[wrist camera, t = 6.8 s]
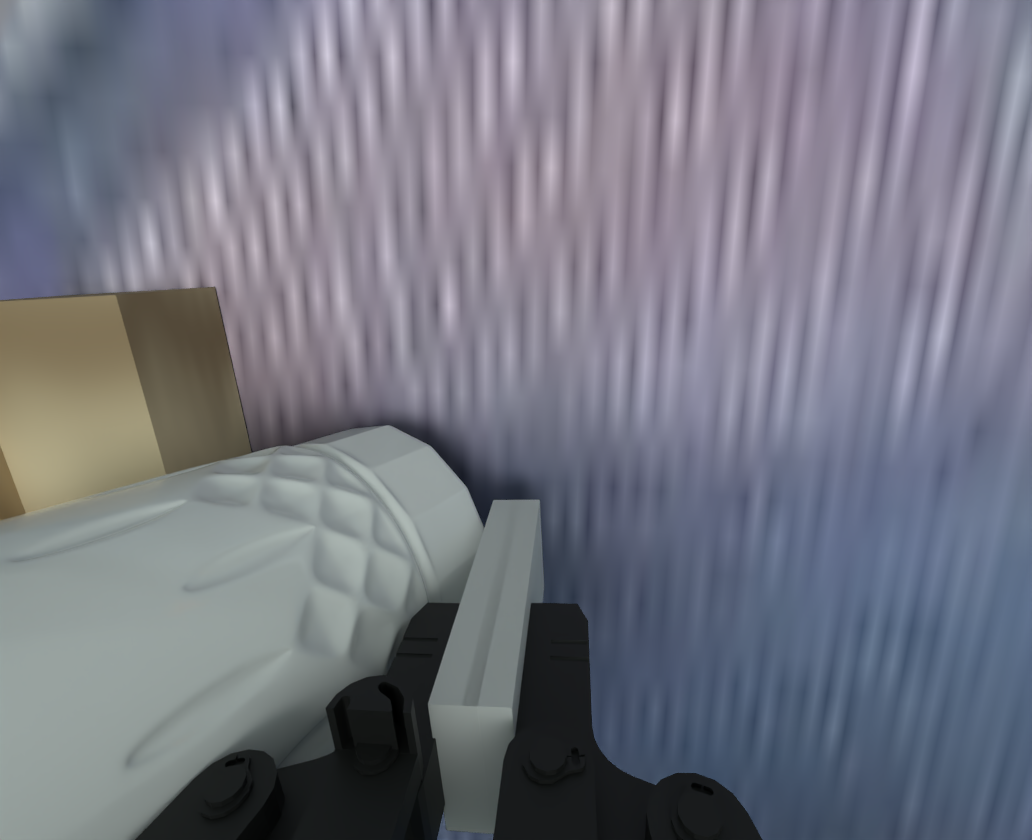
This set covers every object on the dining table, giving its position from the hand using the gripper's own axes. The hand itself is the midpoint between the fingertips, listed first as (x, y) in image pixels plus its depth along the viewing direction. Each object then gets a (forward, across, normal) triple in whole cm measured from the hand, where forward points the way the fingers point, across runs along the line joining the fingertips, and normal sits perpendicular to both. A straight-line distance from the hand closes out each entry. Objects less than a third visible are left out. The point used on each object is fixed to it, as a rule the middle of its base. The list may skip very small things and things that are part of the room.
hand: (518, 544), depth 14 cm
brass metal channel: (+2, +11, 0) cm, 12 cm away
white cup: (+1, +4, 0) cm, 4 cm away
